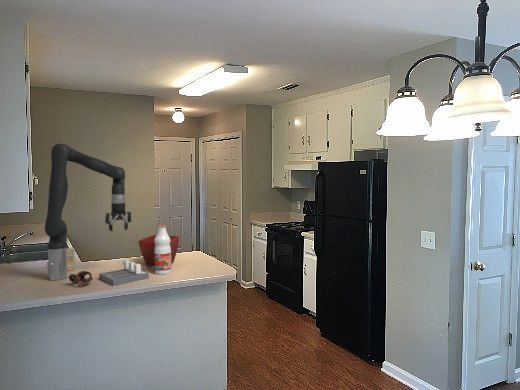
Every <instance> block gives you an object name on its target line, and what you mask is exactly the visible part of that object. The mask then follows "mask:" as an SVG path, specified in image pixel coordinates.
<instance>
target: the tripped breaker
mask: <svg viewBox="0 0 520 390" xmlns="http://www.w3.org/2000/svg"><path fill="white" fill-rule="evenodd" d="M134 264H136V261H130V262H129V271H130V272H134Z"/></svg>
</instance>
